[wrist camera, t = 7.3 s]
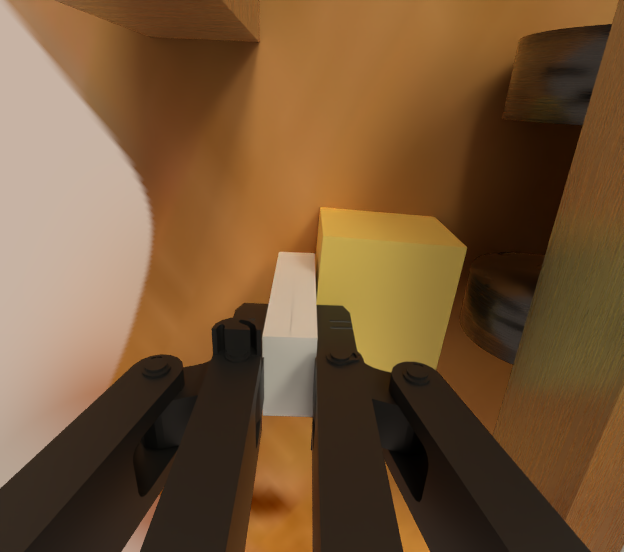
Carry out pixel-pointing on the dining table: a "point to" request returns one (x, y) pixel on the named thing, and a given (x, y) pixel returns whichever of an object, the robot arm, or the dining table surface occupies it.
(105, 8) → the grey tall block
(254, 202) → the dining table surface
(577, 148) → the grey open rectangular container
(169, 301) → the dining table surface
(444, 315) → the block
